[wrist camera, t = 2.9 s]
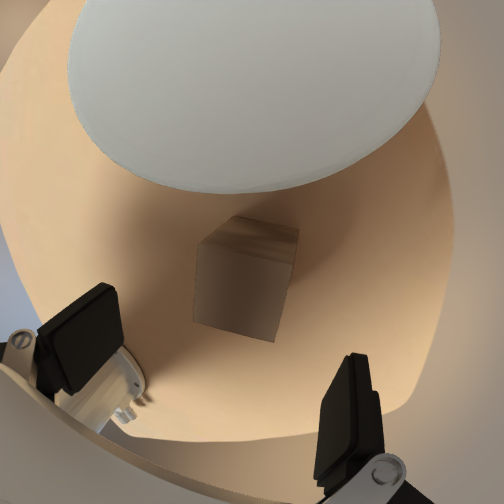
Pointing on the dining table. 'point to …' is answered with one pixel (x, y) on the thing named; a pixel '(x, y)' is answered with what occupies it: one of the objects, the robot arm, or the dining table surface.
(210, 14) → the supplement tub
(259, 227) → the walnut block
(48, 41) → the dining table surface
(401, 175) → the dining table surface
